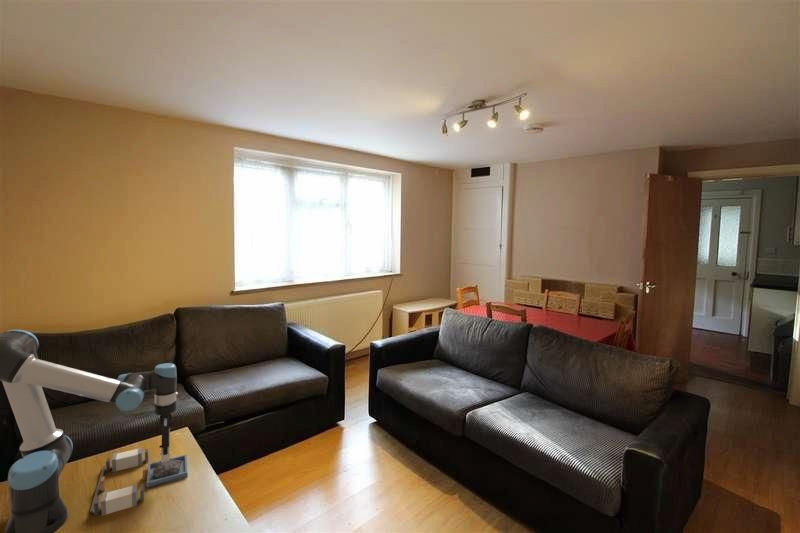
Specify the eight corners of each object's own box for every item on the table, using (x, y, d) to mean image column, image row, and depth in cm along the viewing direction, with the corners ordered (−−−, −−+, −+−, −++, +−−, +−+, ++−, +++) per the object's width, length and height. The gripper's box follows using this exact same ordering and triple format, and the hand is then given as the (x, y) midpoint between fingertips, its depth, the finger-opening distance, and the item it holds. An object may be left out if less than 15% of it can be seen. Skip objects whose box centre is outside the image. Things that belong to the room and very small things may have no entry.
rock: (183, 472, 154) (182, 463, 154) (151, 482, 148) (151, 472, 147) (180, 461, 161) (180, 452, 161) (150, 470, 155) (150, 461, 154)
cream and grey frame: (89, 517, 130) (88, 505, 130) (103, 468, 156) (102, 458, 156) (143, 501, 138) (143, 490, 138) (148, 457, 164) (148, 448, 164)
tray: (146, 488, 145) (146, 483, 145) (148, 468, 157) (148, 463, 157) (187, 476, 152) (187, 472, 152) (186, 458, 164) (186, 454, 164)
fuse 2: (101, 516, 131) (100, 501, 130) (104, 506, 136) (103, 492, 135) (136, 505, 136) (136, 492, 136) (137, 496, 141) (137, 483, 140)
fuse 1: (112, 472, 154) (111, 459, 153) (114, 465, 159) (113, 453, 158) (141, 465, 159) (141, 453, 159) (142, 458, 164) (142, 446, 163)
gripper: (176, 413, 143) (176, 466, 145) (176, 389, 164) (176, 435, 166) (153, 417, 139) (153, 471, 141) (155, 392, 161) (155, 439, 162)
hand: (165, 452), depth 154 cm, fingers open, 13 cm apart
